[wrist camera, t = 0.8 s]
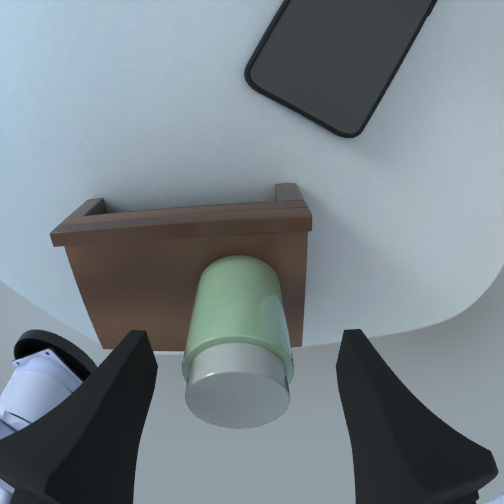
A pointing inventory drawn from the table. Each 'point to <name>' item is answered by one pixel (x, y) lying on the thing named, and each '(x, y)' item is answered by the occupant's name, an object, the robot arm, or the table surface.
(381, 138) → the table surface
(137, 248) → the shelf
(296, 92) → the smartphone
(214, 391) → the shaker
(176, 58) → the table surface
